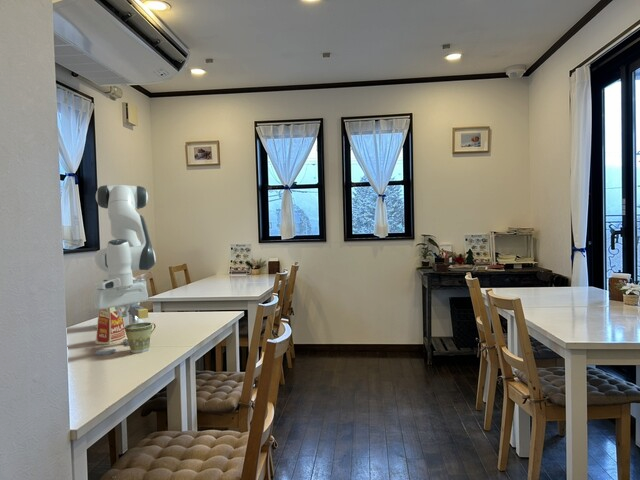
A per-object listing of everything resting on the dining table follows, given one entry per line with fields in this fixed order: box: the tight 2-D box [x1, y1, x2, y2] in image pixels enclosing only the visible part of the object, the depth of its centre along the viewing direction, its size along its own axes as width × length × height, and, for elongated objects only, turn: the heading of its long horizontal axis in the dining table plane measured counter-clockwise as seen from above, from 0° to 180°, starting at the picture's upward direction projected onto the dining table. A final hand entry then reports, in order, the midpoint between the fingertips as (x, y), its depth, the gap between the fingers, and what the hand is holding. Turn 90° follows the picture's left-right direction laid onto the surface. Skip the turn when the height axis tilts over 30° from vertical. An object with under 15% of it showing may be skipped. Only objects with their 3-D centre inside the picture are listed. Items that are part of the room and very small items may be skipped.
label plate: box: [95, 348, 117, 355], centre depth 177 cm, size 6×4×1 cm, turn 80°
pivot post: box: [122, 313, 139, 347], centre depth 190 cm, size 8×8×12 cm
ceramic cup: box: [125, 321, 156, 354], centre depth 178 cm, size 13×10×10 cm
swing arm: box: [128, 303, 149, 320], centre depth 184 cm, size 20×4×3 cm, turn 35°
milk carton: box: [95, 307, 127, 345], centre depth 194 cm, size 9×9×20 cm
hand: (123, 316), depth 177 cm, fingers closed
